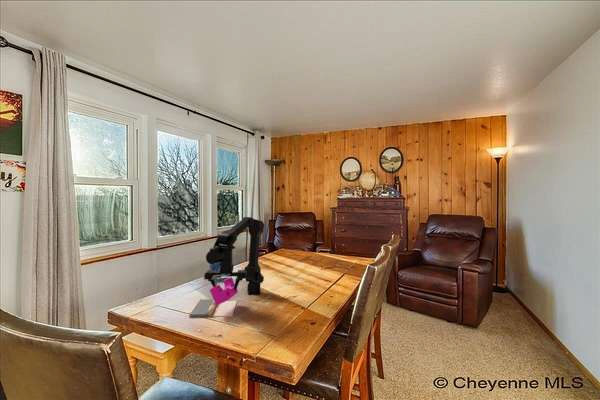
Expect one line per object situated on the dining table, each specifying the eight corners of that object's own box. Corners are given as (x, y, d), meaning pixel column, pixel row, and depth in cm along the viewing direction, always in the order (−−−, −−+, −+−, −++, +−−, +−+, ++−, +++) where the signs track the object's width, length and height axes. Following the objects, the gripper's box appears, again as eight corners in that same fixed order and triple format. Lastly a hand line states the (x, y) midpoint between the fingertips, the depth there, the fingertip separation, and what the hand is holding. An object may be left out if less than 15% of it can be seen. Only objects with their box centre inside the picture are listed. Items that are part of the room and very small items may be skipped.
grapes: (212, 283, 170) (213, 263, 170) (205, 280, 174) (206, 261, 174) (228, 278, 180) (228, 259, 180) (221, 276, 184) (221, 258, 184)
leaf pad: (237, 301, 141) (237, 300, 141) (231, 316, 124) (231, 315, 124) (219, 301, 141) (219, 301, 141) (212, 316, 123) (212, 315, 123)
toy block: (228, 300, 123) (220, 284, 124) (216, 305, 124) (209, 289, 125) (242, 289, 138) (235, 275, 138) (231, 293, 139) (225, 279, 140)
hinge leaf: (219, 301, 141) (219, 296, 141) (211, 316, 123) (211, 311, 123) (200, 301, 140) (200, 297, 140) (189, 317, 122) (189, 311, 122)
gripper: (247, 255, 141) (247, 286, 141) (209, 255, 139) (209, 287, 140) (245, 261, 130) (245, 294, 130) (204, 261, 128) (203, 295, 129)
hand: (225, 292), depth 132 cm, fingers closed on toy block, 8 cm apart
